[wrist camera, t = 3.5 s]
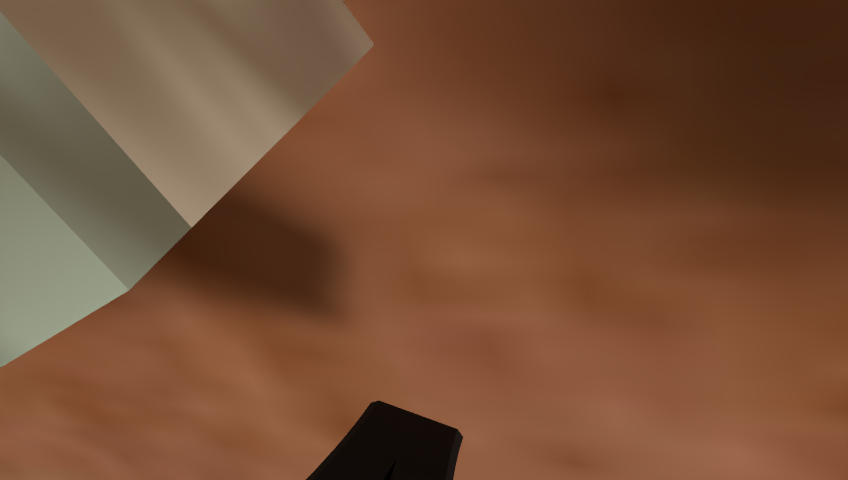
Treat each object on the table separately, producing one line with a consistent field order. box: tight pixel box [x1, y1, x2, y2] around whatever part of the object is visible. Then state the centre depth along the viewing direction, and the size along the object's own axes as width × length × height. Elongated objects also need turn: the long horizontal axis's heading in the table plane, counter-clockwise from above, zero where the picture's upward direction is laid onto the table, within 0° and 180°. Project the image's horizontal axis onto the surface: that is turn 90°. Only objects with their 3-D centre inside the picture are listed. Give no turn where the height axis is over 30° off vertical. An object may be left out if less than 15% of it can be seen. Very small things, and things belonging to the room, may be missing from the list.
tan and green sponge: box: [0, 0, 374, 367], centre depth 9 cm, size 4×4×6 cm
